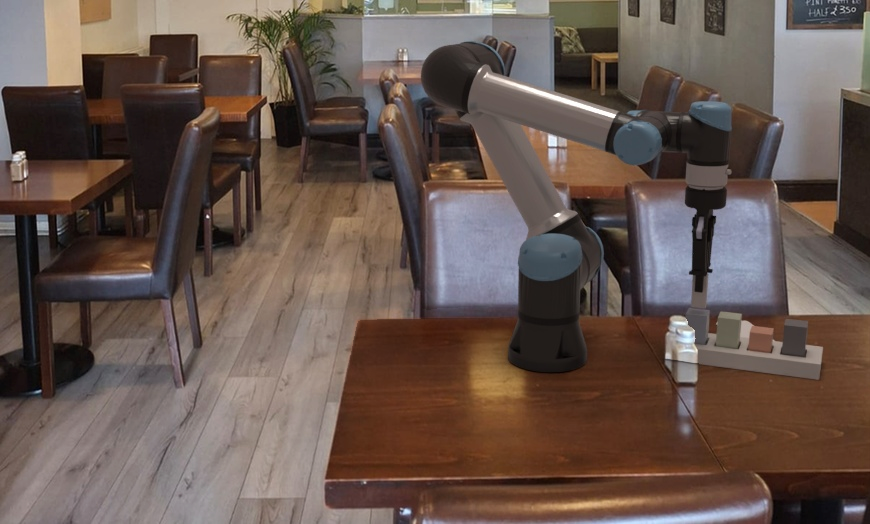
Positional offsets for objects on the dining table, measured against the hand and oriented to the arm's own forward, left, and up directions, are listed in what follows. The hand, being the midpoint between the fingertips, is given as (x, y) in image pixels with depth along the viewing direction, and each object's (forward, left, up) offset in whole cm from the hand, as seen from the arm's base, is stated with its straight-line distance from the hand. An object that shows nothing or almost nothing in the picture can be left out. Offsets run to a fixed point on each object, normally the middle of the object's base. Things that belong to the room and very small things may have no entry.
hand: (698, 306), depth 200 cm
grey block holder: (+9, 0, -10) cm, 13 cm away
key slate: (0, 0, -7) cm, 7 cm away
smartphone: (+8, +16, -10) cm, 21 cm away
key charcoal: (+18, 0, -7) cm, 19 cm away
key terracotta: (+12, 0, -9) cm, 15 cm away
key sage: (+6, 0, -7) cm, 9 cm away
